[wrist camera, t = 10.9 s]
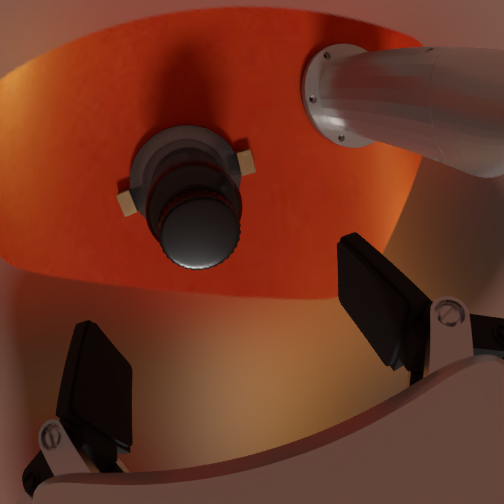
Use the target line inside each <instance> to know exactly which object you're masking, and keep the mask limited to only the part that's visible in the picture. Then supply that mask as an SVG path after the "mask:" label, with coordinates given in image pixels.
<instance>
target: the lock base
mask: <svg viewBox="0 0 504 504" xmlns="http://www.w3.org/2000/svg"><path fill="white" fill-rule="evenodd" d="M184 147H193V148H198V149H201V150H204V151H206V152H207V153H209V154H210V155H212V156H213V157H214V158H215V159H216V160H217V161H218V163H219V164H220V165H221V166H222V167H223V168H224V169H225V171H226V172H227V173H228V174H229V175H230V176H231V178H232V179H233V180H234V182H235V183H236V185H237V187H238V189H239V187H240V179H241V176H240V174H241V175H242V176H244V175H247V174H251V173H254V172H256V171H255V167H254V163H253V158H252V154H251V150H250V149H248V148H245V149H241V150H238V151H233V149H232V148H231V146H230V145H229V144H228V143H227V142H226V141H225V140H224V139H223V138H222V137H221V136H219V135H218V134H216V133H215V132H213V131H211V130H209V129H206V128H203V127H200V126H194V125H180V126H174V127H170V128H167V129H165V130H163V131H161V132H159V133H157V134H156V135H154V136H153V137H152V138H150V139H149V140H148V141H147V142H146V143H145V144H144V145H143V146H142V148H141V149H140V150H139V152H138V154H137V155H136V157H135V159H134V162H133V164H132V168H131V172H130V187H129V188H127V189H125V190H122V191H120V192H118V193H117V195H116V197H117V199H118V201H119V204H120V206H121V209H122V211H123V213H124V216H125V217H126V216H129V215H131V214H134V213H136V212H138V210H139V212H140V213H141V214H142V215H143V216H144V218H146V215H145V207H146V199H147V195H148V191H149V187H150V183H151V179H152V175H153V172H154V170H155V168H156V166H157V164H158V163H159V161H160V160H161V159H162V158H163V157H164V156H165V155H167V154H168V153H170V152H172V151H173V150H176V149H179V148H184Z"/></svg>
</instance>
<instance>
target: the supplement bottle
mask: <svg viewBox="0 0 504 504" xmlns="http://www.w3.org/2000/svg"><path fill="white" fill-rule="evenodd" d="M145 215H146V221H147V225H148V227H149V230H150V232H151V233H152V235H153V236H154V238H155V239H156V240H157V241H158V242H159V243H160V246H161V247H162V250H163V252H164V253H165V254H166V256H167V258H169V259H171V260H172V262H173V263H175V264H177V265H178V266H180V267H184V268H185V269H191V270H197V269H198V270H203V269H209V268H211V267H215V266H217V265H218V264H220V263H223V261H224V260H226V259H228V258H229V256H230V255H231V254H232V253H233V252H234V249H235V248H236V247H237V243H238V241H239V240H240V237H239V236H240V233H241V231H240V220H241V215H242V198H241V194H240V191H239V189H238V187H237V185H236V183H235V182H234V180H233V179H232V178H231V176H230V175H229V174H228V173H227V172H226V171H225V169H224V168H223V167H222V166H221V165H220V164H219V163H218V161H217V160H216V159H215V158H214V157H213V156H212V155H210V154H209V153H207V152H206V151H204V150H201V149H198V148H193V147H184V148H179V149H176V150H173V151H172V152H170V153H168V154H167V155H165V156H164V157H163V158H162V159H161V160H160V161H159V163H158V164H157V166H156V168H155V170H154V172H153V175H152V179H151V183H150V187H149V191H148V195H147V199H146V207H145Z"/></svg>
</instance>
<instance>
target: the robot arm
mask: <svg viewBox="0 0 504 504" xmlns="http://www.w3.org/2000/svg"><path fill="white" fill-rule="evenodd" d="M324 57H325V58H324ZM301 94H302V100H303V105H304V108H305V111H306V114H307V115H308V117H309V119H310V121H311V123H312V124H313V125H314V127H315V128H316V129H317V131H318V132H319V133H321V134H322V135H323V136H324V137H325V138H327V139H328V140H330V141H332V142H333V143H336V144H339V145H342V146H346V147H352V148H359V147H364V146H367V145H369V144H372V143H373V142H375V141H379V142H382V143H386V144H389V145H392V146H396V147H399V148H402V149H405V150H408V151H411V152H414V153H417V154H420V155H423V156H425V157H428V158H431V159H434V160H436V161H439V162H441V163H444V164H447V165H449V166H452V167H455V168H457V169H459V170H462V171H464V172H466V173H469V174H472V175H475V176H479V177H488V178H490V177H496V176H500V175H503V174H504V50H495V49H484V48H468V47H413V48H399V49H388V50H380V51H372V52H369V51H367V50H365V49H363V48H362V47H359V46H356V45H352V44H345V43H344V44H335V45H331V46H328V47H326V48H324V49H321V50H320V51H319V52H317V53H316V54H315V55H314V56H313V57H312V58H311V59H310V61H309V62H308V64H307V66H306V68H305V70H304V73H303V78H302V85H301ZM309 98H311V101H309ZM338 137H339V138H338ZM337 259H338V297H339V301H340V303H341V305H342V306H343V307H344V309H345V310H346V311H347V313H348V314H349V315H350V317H351V318H352V320H353V321H354V322H355V324H356V325H357V326H358V328H359V329H360V331H361V332H362V333H363V335H364V336H365V338H366V339H367V340H368V342H369V343H370V345H371V346H372V347H373V349H374V350H375V352H376V353H377V354H378V356H379V357H380V359H381V360H382V362H383V363H384V364H385V365H386V366H391V368H392V369H393V371H395V370H397V369H398V368H400V367H402V366H403V365H404V366H405V368H406V369H407V371H408V378H407V385H406V389H405V390H403V391H401V392H400V393H398V394H396V395H394V396H393V397H391V398H389V399H387V400H386V401H384V402H382V403H380V404H378V405H376V406H374V407H372V408H370V409H369V410H367V411H365V412H363V413H361V414H359V415H357V416H354V417H353V418H350V419H349V420H346V421H344V422H342V423H340V424H338V425H335V426H333V427H330V428H328V429H326V430H324V431H321V432H318V433H316V434H314V435H311V436H308V437H305V438H303V439H300V440H297V441H294V442H292V443H289V444H286V445H283V446H280V447H276V448H273V449H270V450H267V451H263V452H260V453H256V454H253V455H249V456H245V457H241V458H237V459H232V460H228V461H223V462H218V463H214V464H208V465H202V466H196V467H190V468H182V469H174V470H164V471H153V472H134V473H130V472H129V471H128V470H127V469H126V467H125V466H124V465H123V464H122V463H121V462H120V460H119V459H118V458H117V453H119V454H123V453H130V446H131V445H132V442H133V441H132V368H131V365H130V364H129V363H128V361H127V360H126V359H125V358H124V357H123V356H122V354H121V353H120V352H119V351H118V350H117V349H116V347H115V346H114V345H113V344H112V343H111V341H110V340H109V339H108V338H107V337H106V335H105V334H104V333H103V332H102V330H101V329H100V328H99V326H98V325H97V324H96V323H93V322H91V321H90V320H88V321H84V322H81V323H78V324H76V326H75V329H74V333H73V336H72V340H71V343H70V347H69V351H68V355H67V359H66V363H65V367H64V372H63V376H62V381H61V386H60V392H59V396H58V402H57V408H56V416H58V417H59V418H60V421H57V420H53V419H52V420H48V421H47V422H46V423H44V425H43V426H42V427H41V429H40V432H39V445H40V448H41V450H40V452H39V453H38V454H37V455H36V457H35V458H34V459H33V460H32V461H31V462H30V464H29V465H28V466H27V468H25V470H24V472H23V476H22V481H23V486H24V489H25V490H24V489H22V492H21V494H20V497H19V500H18V503H17V504H504V319H503V318H496V317H489V316H481V315H474V314H469V311H468V309H467V307H466V306H465V304H464V303H463V302H461V301H460V300H459V299H457V298H454V297H449V296H444V297H440V298H438V299H436V300H435V301H434V302H432V301H431V300H430V299H429V298H428V297H427V296H426V295H425V294H424V293H423V292H422V291H421V290H420V289H419V288H418V287H417V286H416V285H415V284H414V283H413V282H412V281H411V280H410V279H408V278H407V277H406V276H405V275H404V274H403V273H402V272H401V271H400V270H399V269H397V267H396V266H394V265H393V264H392V263H391V262H390V261H389V260H388V259H387V258H386V257H384V256H383V255H382V254H381V253H380V252H379V251H378V250H376V249H375V248H374V247H373V246H372V245H371V244H369V243H368V242H367V241H366V240H365V239H364V238H362V237H361V236H360V235H359V234H358V233H356V232H354V233H351V234H348V235H345V236H343V237H341V239H340V242H338V243H337Z"/></svg>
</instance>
